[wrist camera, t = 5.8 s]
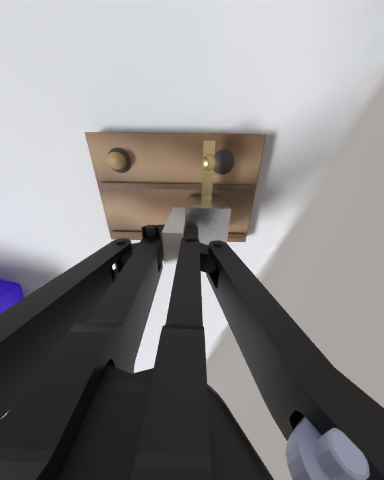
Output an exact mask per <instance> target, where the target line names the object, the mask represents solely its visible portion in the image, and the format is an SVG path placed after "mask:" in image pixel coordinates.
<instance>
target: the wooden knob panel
mask: <svg viewBox="0 0 384 480" xmlns="http://www.w3.org/2000/svg"><path fill="white" fill-rule="evenodd" d="M85 135H86V139H87V143H88V147H89V151H90V155H91V159H92V163H93V167H94V171H95V175H96V179H97V183H98V187H99V191H100V195H101V199H102V203H103V207H104V211H105V215H106V219H107V223H108V227H109V231H110V235H111V239H119V238H127V239H129V240H142V231H141V228H142V227H143V226H146V225H165V224H166V222H167V220H168V217H169V215H170V213H171V211H172V209H173V207H181V208H185V206H186V201H187V196H201V190H202V160H203V141H215V155H214V157H215V159H216V166H215V168H214V170H213V184H212V196H223V198H224V199H225V201H226V202H227V204H228V205H229V206H230V208H231V214H230V222H229V230H228V237H227V242H245V241H246V236H247V230H248V225H249V220H250V215H251V209H252V204H253V199H254V194H255V188H256V183H257V178H258V173H259V167H260V162H261V157H262V152H263V147H264V141H265V136H266V135H250V134H174V133H97V132H85Z"/></svg>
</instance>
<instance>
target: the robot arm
mask: <svg viewBox="0 0 384 480" xmlns="http://www.w3.org/2000/svg"><path fill="white" fill-rule="evenodd" d="M141 231H142V240H141V241H140V243H134V244H131V240H129V239H127V238H119V239H117V240H114V241H112V242H111V243H109V244H108V245H106V246H104V247H103V248H101V249H100V250H98V251H97V252H95V253H94V254H92V255H90V256H89V257H87V258H86V259H84V260H83V261H81V262H80V263H78V264H77V265H75V266H73V267H72V268H70V269H69V270H67V271H66V272H64V273H63V274H61V275H59V276H58V277H56V278H55V279H53V280H52V281H50V282H49V283H47V284H45V285H44V286H42V287H41V288H39V289H38V290H36V291H35V292H33V293H32V294H30V295H28V296H27V297H25V298H24V299H22V300H21V301H19V302H18V303H16V304H14V305H13V306H11V307H10V308H8V309H7V310H5V311H4V312H2V313H0V480H274V479H273V477H272V476H271V474H270V473H269V471H268V470H267V468H266V466H265V465H264V463H263V462H262V460H261V459H260V457H259V456H258V454H257V452H256V451H255V449H254V448H253V446H252V444H251V443H250V441H249V440H248V438H247V437H246V435H245V433H244V432H243V430H242V429H241V427H240V426H239V424H238V422H237V421H236V419H235V418H234V416H233V415H232V413H231V411H230V410H229V408H228V407H227V405H226V404H225V402H224V401H223V400H222V398H221V397H220V396H219V395H218V394H217V392H216V391H215V390H213V388H212V387H210V386H209V385H208V384H207V375H206V354H205V334H204V327H203V321H202V296H201V272H200V271H202V272H206V275H207V278H208V280H209V282H210V284H211V286H212V289H213V291H214V293H215V295H216V297H217V299H218V302H219V304H220V306H221V308H222V310H223V313H224V315H225V317H226V319H227V321H228V323H229V326H230V328H231V330H232V332H233V334H234V336H235V339H236V341H237V343H238V345H239V347H240V349H241V352H242V354H243V356H244V358H245V360H246V363H247V365H248V367H249V369H250V371H251V373H252V376H253V378H254V380H255V382H256V384H257V386H258V389H259V391H260V393H261V395H262V397H263V399H264V401H265V403H266V405H267V407H268V409H269V411H270V413H271V415H272V417H273V419H274V420H275V422H276V424H277V425H278V427H279V429H280V430H281V432H282V434H283V435H284V437H285V438H286V440H287V441H288V442H287V446H286V456H287V463H288V467H289V470H290V473H291V477H292V479H293V480H384V408H383V407H382V406H380V405H379V404H378V403H377V402H375V401H374V400H373V399H372V398H370V397H369V396H368V395H367V394H365V392H363V391H362V390H361V389H360V388H359V387H357V386H356V385H355V384H354V383H352V382H351V381H350V380H349V379H348V378H346V377H345V376H344V375H343V374H342V373H340V372H339V371H338V370H336V369H335V368H334V366H333V365H332V364H331V363H330V362H329V361H328V359H326V357H325V356H324V355H323V354H322V353H321V351H320V350H319V349H318V348H317V347H316V346H315V344H314V343H313V342H312V341H311V340H310V339H309V338H308V337H307V335H306V334H305V333H304V332H303V331H302V330H301V329H300V327H299V326H298V325H297V324H296V323H295V322H294V320H293V319H292V318H291V317H290V316H289V315H288V313H287V312H286V311H285V310H284V309H283V308H282V307H281V306H280V304H279V303H278V302H277V301H276V300H275V298H274V297H273V296H272V295H271V294H270V293H269V292H268V290H267V289H266V288H265V287H264V286H263V285H262V283H261V282H260V281H259V280H258V279H257V278H256V277H255V275H254V274H253V273H252V272H251V271H250V270H249V269H248V267H247V266H246V265H245V264H244V263H243V262H242V260H241V259H240V258H239V257H238V256H237V255H236V254H235V252H234V251H233V250H232V249H231V248H230V247H229V246H228V244H227V243H225V242H223V241H220V240H215V241H211V242H210V243H209V245H206V244H203V243H201V242H200V241H199V238H198V227H197V226H196V225H185V208H181V207H173V209H172V211H171V213H170V215H169V217H168V220H167V222H166V224H165V225H146V226H143V227H142V228H141ZM163 259H164V264H177V265H176V270H175V276H174V281H173V287H172V292H171V298H170V303H169V309H168V314H167V319H166V324H165V326H163V328H162V331H161V335H160V340H159V345H158V350H157V355H156V360H155V365H154V368H152V369H148V370H145V371H141V372H137V373H134V364H135V359H136V356H137V353H138V349H139V346H140V343H141V339H142V336H143V332H144V329H145V326H146V322H147V319H148V316H149V312H150V309H151V306H152V302H153V299H154V295H155V292H156V289H157V285H158V282H159V279H160V275H161V272H162V268H163V264H162V262H163ZM114 263H115V266H116V269H114V270H113V269H112V265H113V264H114ZM8 411H9V412H8ZM7 412H8V413H7ZM6 413H7V414H6ZM5 414H6V415H5ZM4 415H5V416H4ZM3 416H4V417H3ZM2 417H3V418H2ZM1 418H2V419H1Z"/></svg>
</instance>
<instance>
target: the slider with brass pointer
mask: <svg viewBox="0 0 384 480" xmlns="http://www.w3.org/2000/svg"><path fill="white" fill-rule="evenodd" d="M214 155H215V141H203V160H202V190H201V196H187V201H186V206H185V225H196V226H197V227H198V238H199V241H200V242H201V243H203V244H206V245H209V243H210V242H211V241H215V240H220V241H223V242H225V243H227V237H228V230H229V222H230V214H231V208H230V206H229V205H228V204H227V202H226V201H225V199H224V198H223V196H212V184H213V170H214V168H215V166H216V159H215V157H214Z"/></svg>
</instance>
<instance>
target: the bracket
mask: <svg viewBox="0 0 384 480" xmlns="http://www.w3.org/2000/svg"><path fill="white" fill-rule="evenodd" d="M22 299H23V295H22V290H21V286H20V284H16V283H12V282H8V281H4V280H0V313H2V312H4V311H5V310H7V309H8V308H10V307H11V306H13V305H14V304H16V303H18V302H19V301H21V300H22Z"/></svg>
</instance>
